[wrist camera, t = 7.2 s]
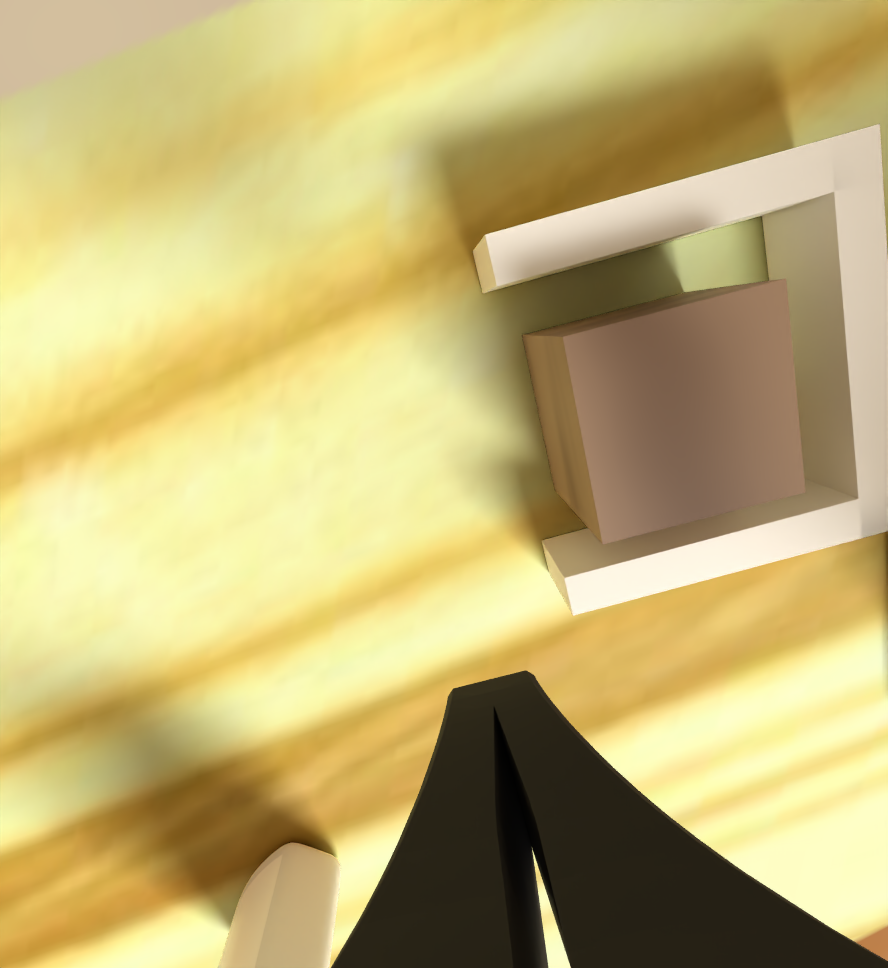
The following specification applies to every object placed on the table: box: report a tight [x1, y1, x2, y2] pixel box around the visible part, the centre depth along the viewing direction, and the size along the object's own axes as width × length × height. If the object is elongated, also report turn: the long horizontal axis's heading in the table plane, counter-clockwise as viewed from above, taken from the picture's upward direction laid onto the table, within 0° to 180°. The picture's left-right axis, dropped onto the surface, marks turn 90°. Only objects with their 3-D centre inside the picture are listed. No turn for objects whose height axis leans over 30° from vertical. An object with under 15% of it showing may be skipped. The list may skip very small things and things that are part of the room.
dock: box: [473, 124, 888, 615], centre depth 17 cm, size 10×10×3 cm
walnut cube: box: [522, 278, 805, 544], centre depth 16 cm, size 5×5×5 cm
